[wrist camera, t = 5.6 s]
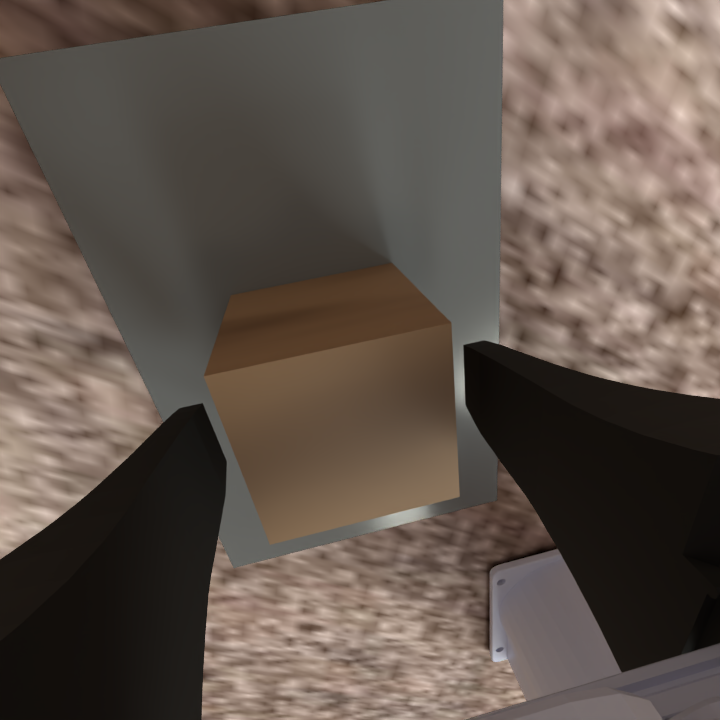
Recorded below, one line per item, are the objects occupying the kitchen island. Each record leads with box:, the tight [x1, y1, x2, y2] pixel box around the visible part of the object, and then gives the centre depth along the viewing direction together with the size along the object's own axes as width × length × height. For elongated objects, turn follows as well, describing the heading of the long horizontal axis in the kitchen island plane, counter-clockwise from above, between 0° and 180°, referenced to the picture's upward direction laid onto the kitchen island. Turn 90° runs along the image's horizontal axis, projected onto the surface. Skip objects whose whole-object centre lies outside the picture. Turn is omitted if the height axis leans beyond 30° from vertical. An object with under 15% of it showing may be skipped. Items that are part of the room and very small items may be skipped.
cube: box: [204, 263, 460, 545], centre depth 11 cm, size 5×5×5 cm
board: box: [0, 0, 503, 568], centre depth 14 cm, size 18×12×1 cm, turn 9°
